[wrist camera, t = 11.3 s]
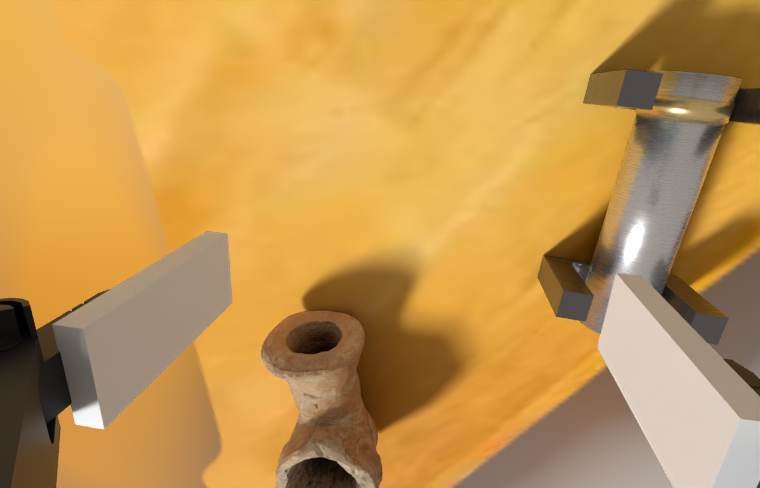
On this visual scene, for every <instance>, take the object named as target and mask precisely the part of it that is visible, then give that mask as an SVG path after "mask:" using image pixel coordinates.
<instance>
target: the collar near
mask: <svg viewBox="0 0 760 488" xmlns="http://www.w3.org/2000/svg"><path fill="white" fill-rule="evenodd" d="M662 77H663V73H655V72H646V71H638V70H629V69H625V70H617V71H610V72H603V73H595V74H591V75H590V79H589V83H588V87H587V90H586V94H585V98H584V102H583V103H586V104H594V105H602V106H610V107H617V108H625V109H633V110H636V109H644V110H652V109H653V105H654V102H655V99H656V96H657V93H658V89H659V86H660V83H661V80H662ZM733 103H734V104H735V105H734V108H733V111H732V113H731V116H730V119H729V122H737V123H747V124H756V125H760V88H756V89H738V92H737V94H736V97H735V100H734V102H733Z"/></svg>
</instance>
